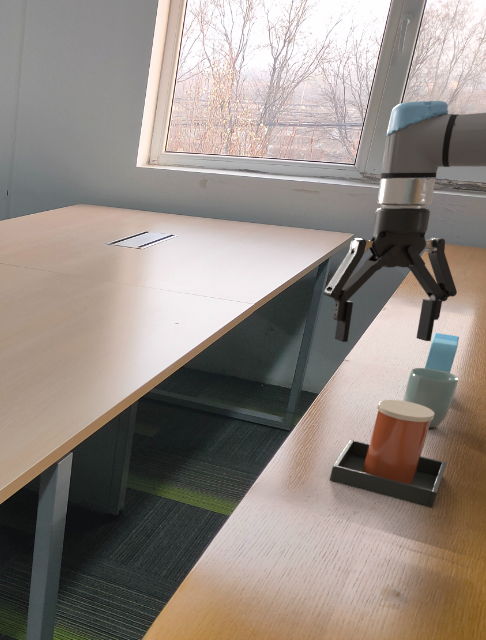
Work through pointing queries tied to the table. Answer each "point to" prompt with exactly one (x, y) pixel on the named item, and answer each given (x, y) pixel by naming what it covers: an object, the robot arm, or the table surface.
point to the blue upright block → (442, 352)
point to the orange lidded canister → (397, 440)
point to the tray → (419, 492)
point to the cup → (431, 391)
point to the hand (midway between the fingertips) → (382, 340)
